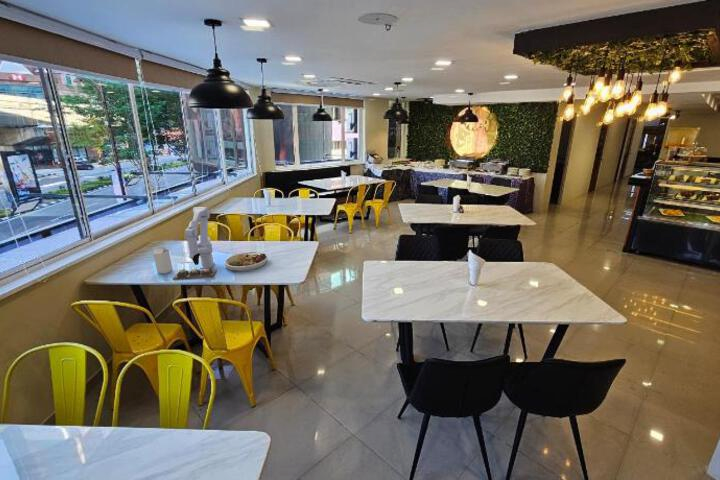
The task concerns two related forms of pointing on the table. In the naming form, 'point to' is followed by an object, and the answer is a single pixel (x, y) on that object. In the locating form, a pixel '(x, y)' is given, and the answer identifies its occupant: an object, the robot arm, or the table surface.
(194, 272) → the cream button
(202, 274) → the panel
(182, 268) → the sage button
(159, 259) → the milk carton
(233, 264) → the bowl
